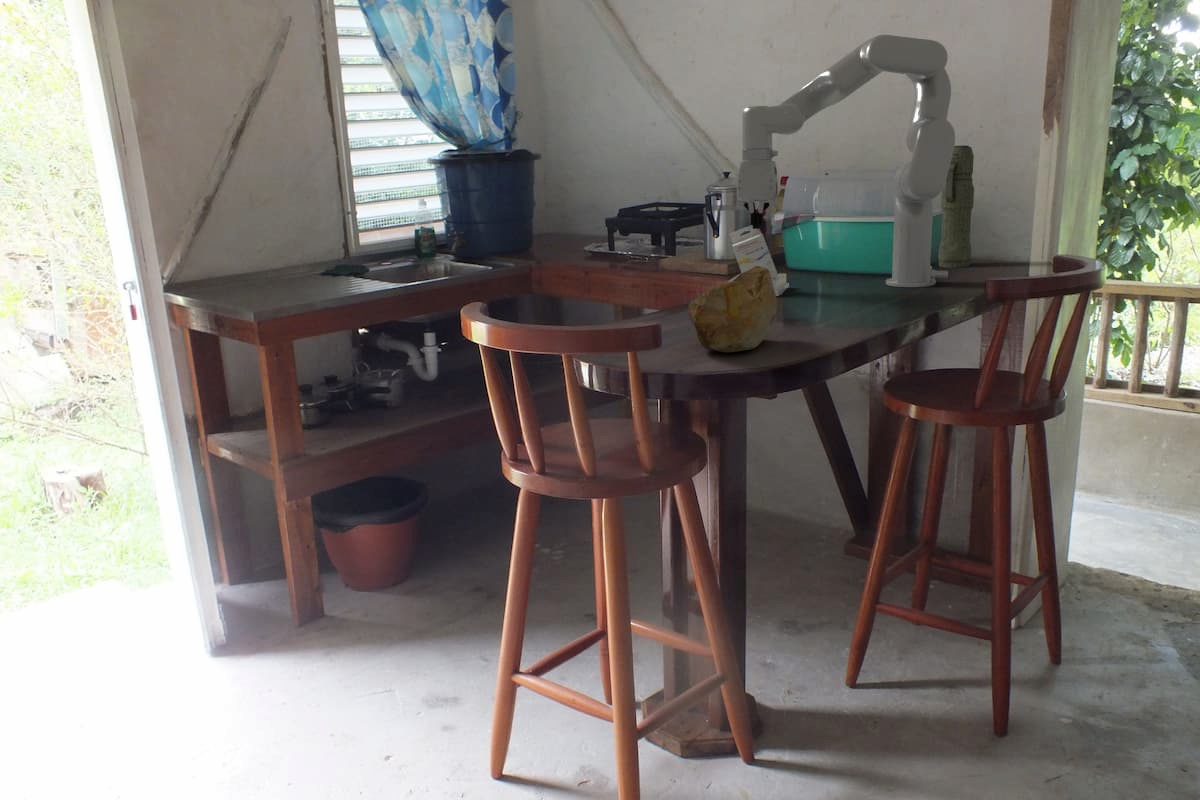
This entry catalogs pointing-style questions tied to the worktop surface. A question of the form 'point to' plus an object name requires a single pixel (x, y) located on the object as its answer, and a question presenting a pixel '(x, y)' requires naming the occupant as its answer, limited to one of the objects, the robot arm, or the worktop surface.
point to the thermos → (957, 210)
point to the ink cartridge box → (752, 250)
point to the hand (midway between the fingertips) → (756, 228)
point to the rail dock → (776, 283)
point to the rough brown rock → (735, 312)
